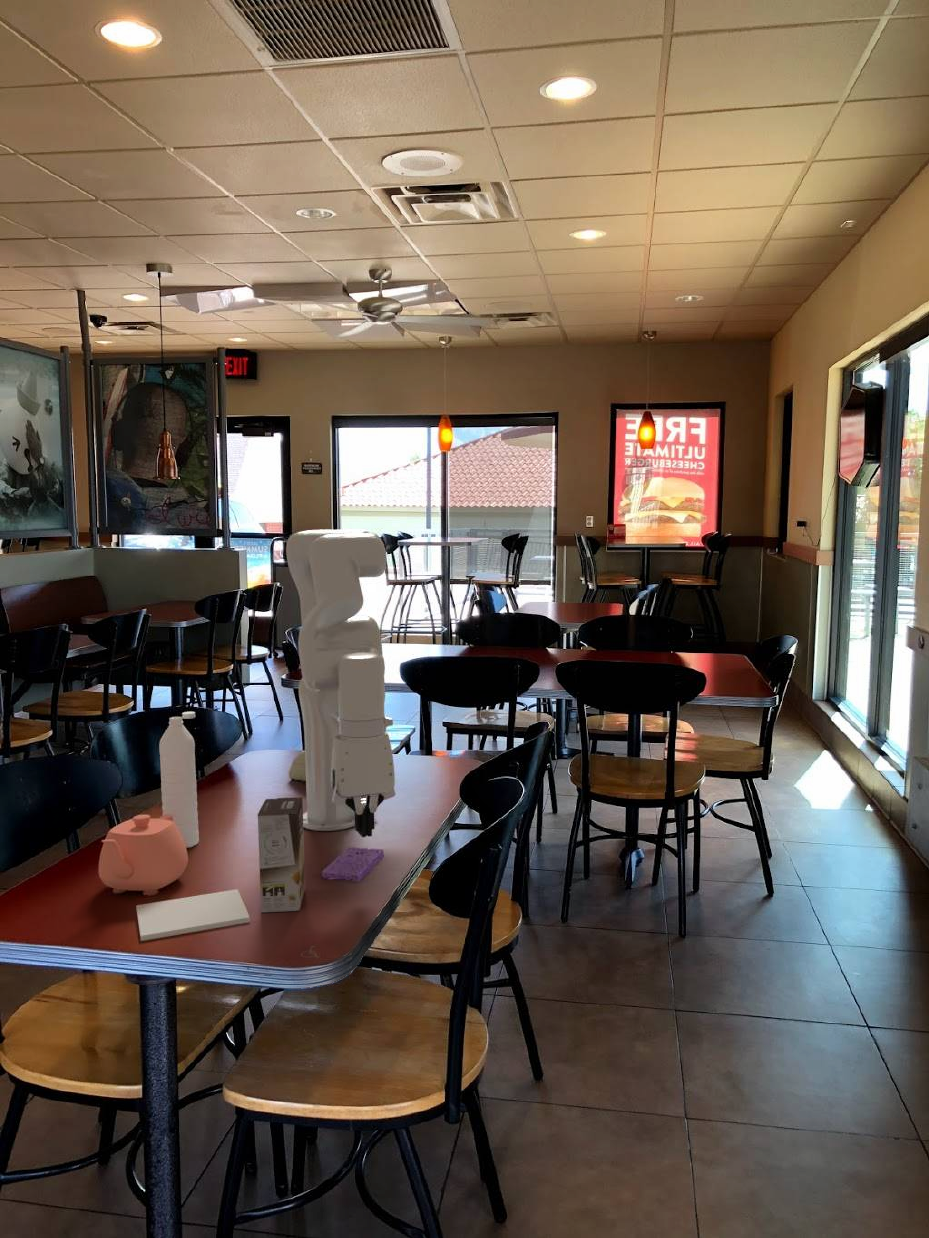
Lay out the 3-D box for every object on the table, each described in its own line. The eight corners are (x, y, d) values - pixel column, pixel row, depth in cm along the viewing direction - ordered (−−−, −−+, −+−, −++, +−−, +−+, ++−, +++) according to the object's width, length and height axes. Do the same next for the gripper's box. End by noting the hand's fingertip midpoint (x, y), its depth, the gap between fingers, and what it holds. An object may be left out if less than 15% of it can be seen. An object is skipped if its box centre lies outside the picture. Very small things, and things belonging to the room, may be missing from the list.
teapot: (71, 907, 150) (66, 834, 148) (140, 862, 169) (137, 798, 168) (144, 914, 147) (140, 840, 145) (206, 868, 166) (204, 802, 165)
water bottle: (186, 851, 174) (180, 721, 172) (156, 848, 176) (150, 719, 174) (212, 836, 183) (206, 712, 180) (183, 833, 185) (178, 710, 182)
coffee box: (301, 911, 147) (297, 813, 145) (260, 913, 146) (256, 815, 144) (306, 888, 156) (303, 796, 154) (267, 890, 155) (264, 797, 154)
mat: (237, 893, 154) (237, 889, 154) (249, 922, 143) (249, 917, 143) (136, 910, 148) (136, 905, 148) (140, 941, 137) (140, 935, 137)
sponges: (383, 858, 171) (383, 848, 171) (359, 884, 159) (359, 874, 158) (348, 855, 172) (348, 846, 172) (321, 881, 160) (321, 870, 160)
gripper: (397, 719, 160) (399, 822, 162) (312, 727, 154) (315, 834, 156) (412, 727, 153) (414, 835, 155) (323, 736, 147) (326, 848, 149)
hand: (364, 834), depth 155 cm, fingers closed
